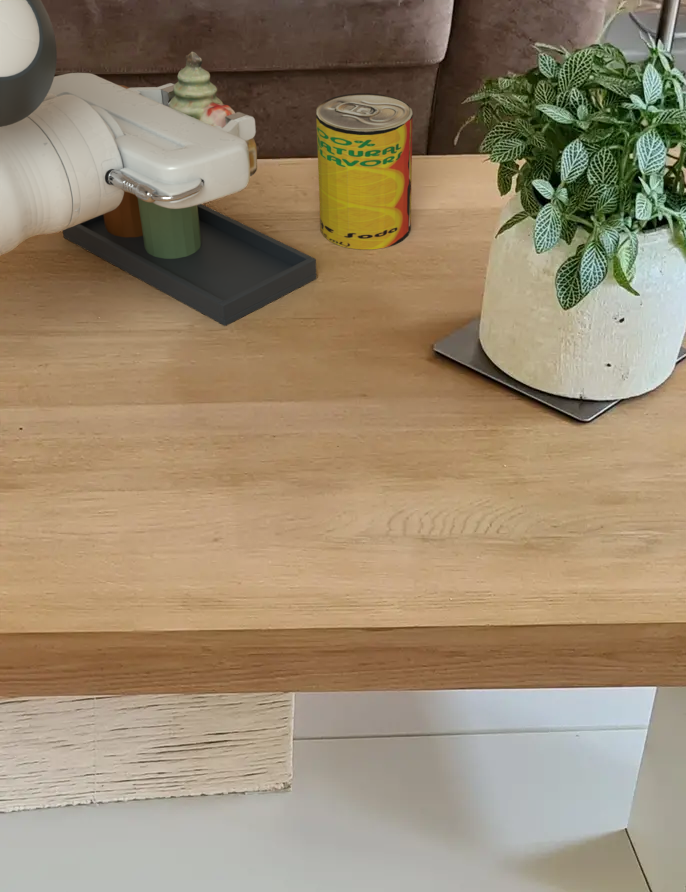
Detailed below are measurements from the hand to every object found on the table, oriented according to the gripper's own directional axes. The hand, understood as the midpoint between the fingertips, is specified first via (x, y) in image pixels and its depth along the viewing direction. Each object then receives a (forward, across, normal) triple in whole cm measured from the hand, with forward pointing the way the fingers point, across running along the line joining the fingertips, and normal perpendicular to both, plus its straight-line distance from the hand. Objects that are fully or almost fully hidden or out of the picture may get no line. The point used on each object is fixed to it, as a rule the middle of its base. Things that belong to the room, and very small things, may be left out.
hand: (213, 108), depth 94 cm
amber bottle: (+2, +16, +18) cm, 24 cm away
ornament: (-1, 0, +6) cm, 6 cm away
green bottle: (+2, +10, +18) cm, 21 cm away
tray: (+2, +8, +18) cm, 20 cm away
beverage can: (+18, 0, +18) cm, 25 cm away
